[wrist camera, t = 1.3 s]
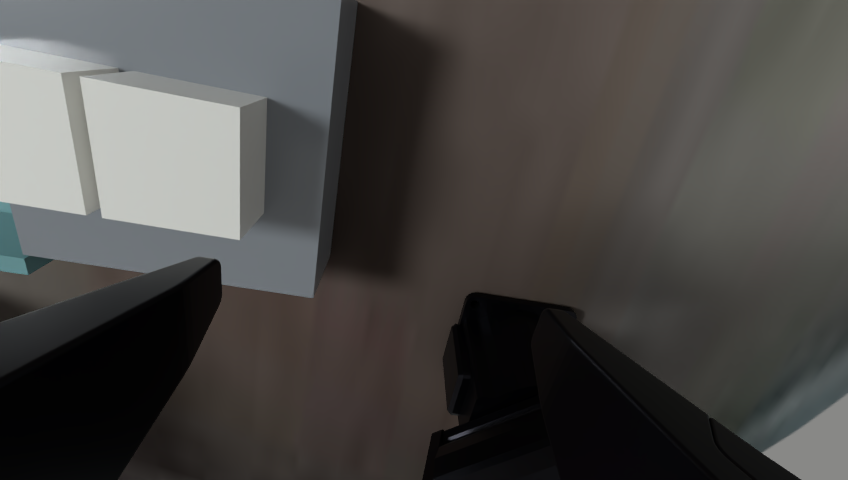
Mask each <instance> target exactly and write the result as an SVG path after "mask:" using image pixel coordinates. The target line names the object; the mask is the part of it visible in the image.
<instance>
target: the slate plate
mask: <svg viewBox="0 0 848 480" xmlns="http://www.w3.org/2000/svg"><path fill="white" fill-rule="evenodd" d="M357 6H358V2H357V1H356V0H0V45H5V46H10V47H15V48H20V49H25V50H30V51H35V52H40V53H45V54H50V55H56V56H61V57H66V58H71V59H76V60H81V61H86V62H91V63H96V64H101V65H106V66H111V67H116V68H118V70H119V72H128V71H136V72H141V73H146V74H152V75H157V76H162V77H167V78H172V79H177V80H182V81H187V82H192V83H197V84H202V85H207V86H212V87H217V88H222V89H227V90H232V91H237V92H243V93H248V94H253V95H258V96H263V97H267V125H266V160H265V196H264V214H263V215H262V216H261V217H260V218H259V219H258V220H257V222H256V223H255V224H254V225H253V226H252V227H251V228H250V229H249V231H248V232H247V233H246V234H245V235H244V236H243V237H242V238H241V240H235V239H229V238H223V237H217V236H210V235H204V234H198V233H192V232H186V231H179V230H173V229H167V228H161V227H155V226H148V225H142V224H136V223H130V222H124V221H117V220H111V219H105V218H102V214H101V208H99V209H98V210H96V211H94V212H92V213H90V214H88V215H80V214H74V213H68V212H62V211H55V210H49V209H43V208H37V207H31V206H24V205H18V204H12V203H10V207H11V211H12V215H13V219H14V222H15V226H16V230H17V234H18V238H19V241H20V245H21V249H22V253H23V255H29V256H35V257H42V258H49V259H55V260H62V261H69V262H75V263H82V264H89V265H95V266H102V267H109V268H116V269H122V270H129V271H136V272H142V273H149V272H152V271H155V270H158V269H161V268H164V267H167V266H170V265H173V264H176V263H179V262H182V261H185V260H188V259H191V258H194V257H200V256H201V257H207V258H214V259H218V260H219V262H220V264H221V275H222V285H229V286H236V287H242V288H249V289H256V290H262V291H269V292H276V293H282V294H289V295H296V296H303V297H309V298H313V297H314V295H315V292H316V290H317V287H318V285H319V282H320V280H321V277H322V275H323V272H324V270H325V267H326V265H327V262H328V260H329V257H330V252H331V243H332V234H333V224H334V215H335V206H336V197H337V188H338V179H339V170H340V161H341V152H342V142H343V133H344V124H345V115H346V106H347V97H348V88H349V79H350V70H351V60H352V51H353V42H354V33H355V24H356V15H357Z"/></svg>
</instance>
